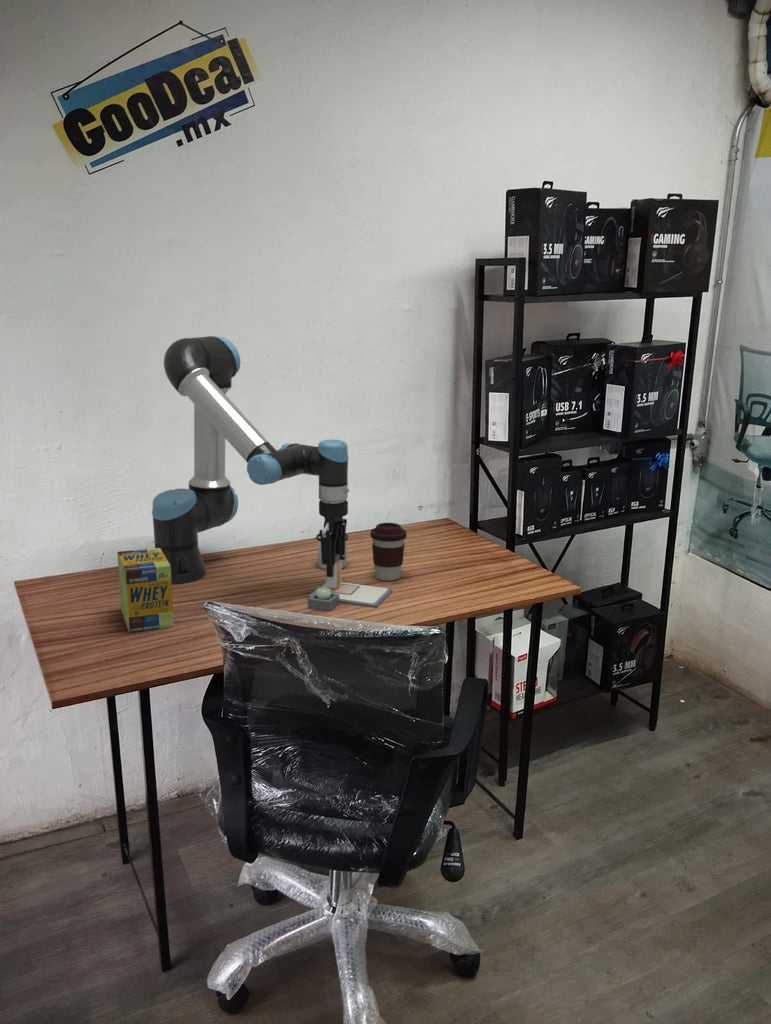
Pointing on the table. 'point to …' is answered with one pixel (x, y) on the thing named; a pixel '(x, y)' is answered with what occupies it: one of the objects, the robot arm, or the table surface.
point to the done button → (324, 593)
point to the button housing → (323, 602)
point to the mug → (323, 566)
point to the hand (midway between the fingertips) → (333, 585)
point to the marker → (337, 569)
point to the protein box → (145, 589)
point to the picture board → (359, 594)
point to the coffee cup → (388, 550)
